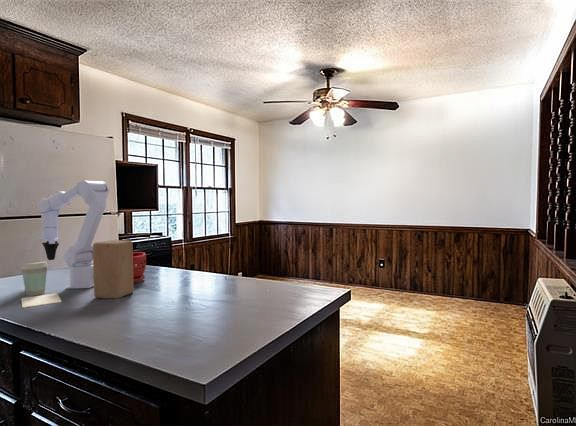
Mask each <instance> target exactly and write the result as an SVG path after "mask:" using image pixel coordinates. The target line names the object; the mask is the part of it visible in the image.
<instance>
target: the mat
mask: <svg viewBox="0 0 576 426" xmlns="http://www.w3.org/2000/svg"><path fill="white" fill-rule="evenodd" d="M20 299H21V300H20V301H21V307H22V309H27V308H33V307H37V306H38V307H39V306H46V305H51V304H52V305H53V304H60V303H63V302H62V300H61V297H60V296H59V294H58V293H51V294H49V293H48V294H41V295H36V296H27V297H22V298H20Z"/></svg>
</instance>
